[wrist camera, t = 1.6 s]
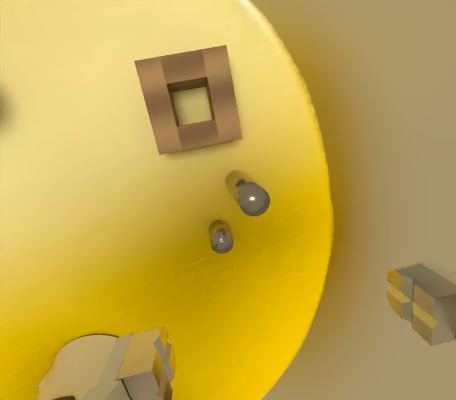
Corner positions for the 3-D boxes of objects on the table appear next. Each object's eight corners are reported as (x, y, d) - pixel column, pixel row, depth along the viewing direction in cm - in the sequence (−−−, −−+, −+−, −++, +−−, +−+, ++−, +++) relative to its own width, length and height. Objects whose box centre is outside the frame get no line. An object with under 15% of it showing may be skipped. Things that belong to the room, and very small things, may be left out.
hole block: (235, 138, 33) (241, 138, 28) (165, 152, 32) (159, 154, 28) (221, 59, 30) (226, 45, 26) (144, 73, 30) (134, 61, 25)
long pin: (247, 188, 35) (271, 212, 24) (228, 192, 35) (243, 219, 24) (244, 168, 34) (267, 184, 23) (224, 172, 34) (237, 190, 23)
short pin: (230, 235, 37) (235, 250, 32) (211, 240, 37) (213, 255, 32) (226, 218, 36) (231, 230, 31) (207, 222, 36) (209, 235, 31)
